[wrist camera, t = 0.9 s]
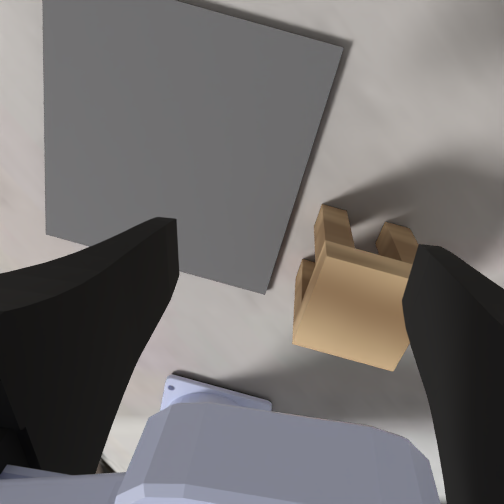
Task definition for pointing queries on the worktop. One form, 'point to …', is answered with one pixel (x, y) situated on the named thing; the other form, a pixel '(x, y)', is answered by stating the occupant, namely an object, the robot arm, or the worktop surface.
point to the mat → (179, 128)
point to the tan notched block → (354, 293)
